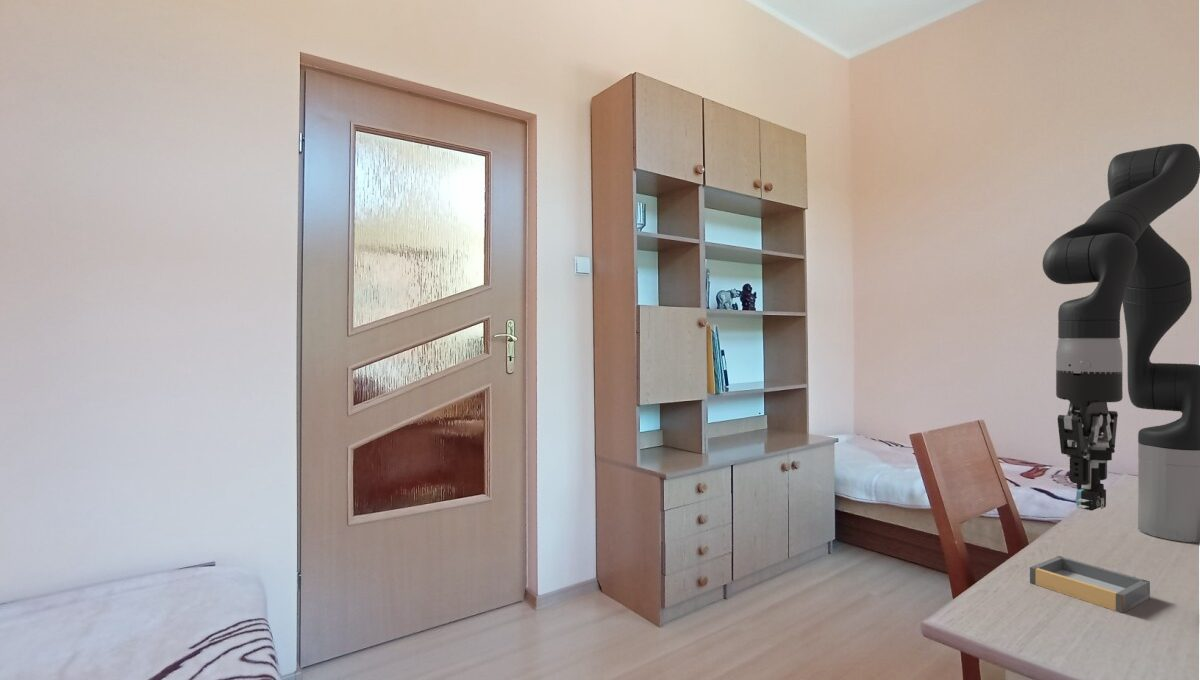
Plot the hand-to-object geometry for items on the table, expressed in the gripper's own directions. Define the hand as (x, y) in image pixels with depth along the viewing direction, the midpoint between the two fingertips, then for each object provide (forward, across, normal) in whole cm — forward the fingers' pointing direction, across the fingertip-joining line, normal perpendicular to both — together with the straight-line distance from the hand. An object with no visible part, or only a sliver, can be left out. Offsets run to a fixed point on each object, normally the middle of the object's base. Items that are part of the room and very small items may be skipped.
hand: (1088, 480), depth 84 cm
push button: (+4, +1, 0) cm, 4 cm away
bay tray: (+16, 0, 0) cm, 16 cm away
